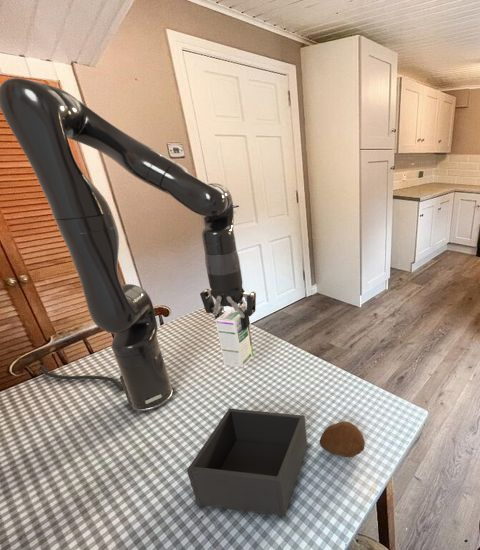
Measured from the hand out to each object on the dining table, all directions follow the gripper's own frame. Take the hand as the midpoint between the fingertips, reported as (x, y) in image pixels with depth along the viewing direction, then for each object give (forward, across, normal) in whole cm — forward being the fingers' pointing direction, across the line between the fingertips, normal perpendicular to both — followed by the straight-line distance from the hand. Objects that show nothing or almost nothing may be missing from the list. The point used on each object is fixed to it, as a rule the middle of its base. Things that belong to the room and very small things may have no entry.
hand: (233, 327), depth 80 cm
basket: (+20, -15, +24) cm, 35 cm away
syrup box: (+11, 0, 0) cm, 11 cm away
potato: (+20, -32, +16) cm, 41 cm away
